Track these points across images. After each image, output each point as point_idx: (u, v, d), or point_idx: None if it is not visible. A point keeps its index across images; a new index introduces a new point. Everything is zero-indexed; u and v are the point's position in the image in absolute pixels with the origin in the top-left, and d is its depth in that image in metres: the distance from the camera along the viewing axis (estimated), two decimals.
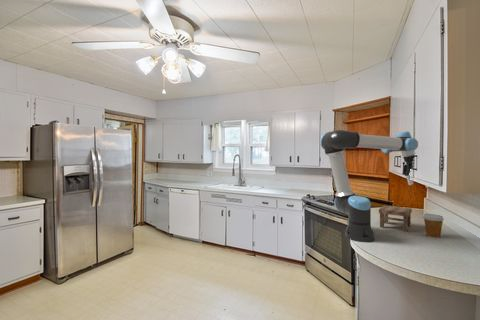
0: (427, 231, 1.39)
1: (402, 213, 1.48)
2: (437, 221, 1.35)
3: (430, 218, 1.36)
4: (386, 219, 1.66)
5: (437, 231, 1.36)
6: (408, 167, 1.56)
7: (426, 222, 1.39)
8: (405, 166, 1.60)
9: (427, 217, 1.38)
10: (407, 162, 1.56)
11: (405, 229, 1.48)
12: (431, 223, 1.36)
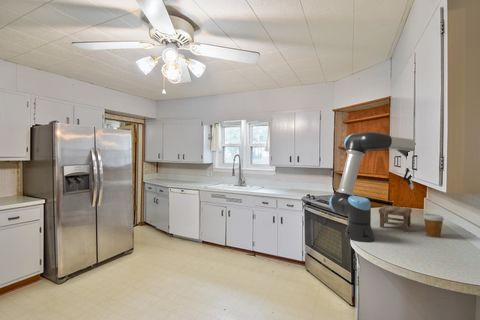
0: (427, 231, 1.39)
1: (402, 213, 1.48)
2: (437, 221, 1.35)
3: (430, 218, 1.36)
4: (386, 219, 1.66)
5: (437, 231, 1.36)
6: None
7: (426, 222, 1.39)
8: None
9: (427, 217, 1.38)
10: None
11: (405, 229, 1.48)
12: (431, 223, 1.36)
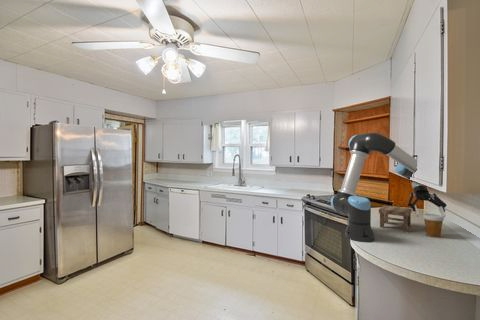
0: (427, 231, 1.39)
1: (402, 213, 1.48)
2: (437, 221, 1.35)
3: (430, 218, 1.36)
4: (386, 219, 1.66)
5: (437, 231, 1.36)
6: (420, 196, 1.52)
7: (426, 222, 1.39)
8: (412, 197, 1.54)
9: (427, 217, 1.38)
10: (418, 193, 1.55)
11: (405, 229, 1.48)
12: (431, 223, 1.36)
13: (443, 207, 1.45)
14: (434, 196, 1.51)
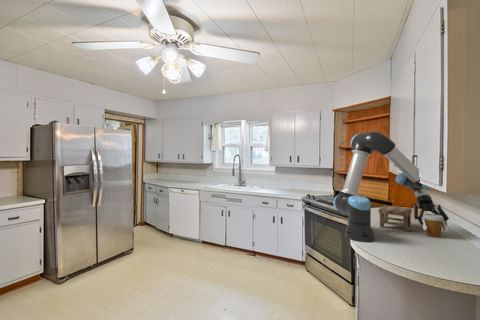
0: (427, 231, 1.39)
1: (402, 213, 1.48)
2: (437, 221, 1.35)
3: (430, 218, 1.36)
4: (386, 219, 1.66)
5: (437, 231, 1.36)
6: (425, 207, 1.45)
7: (426, 222, 1.39)
8: None
9: (427, 217, 1.38)
10: (421, 203, 1.48)
11: (405, 229, 1.48)
12: (431, 223, 1.36)
13: (445, 220, 1.38)
14: (438, 207, 1.44)
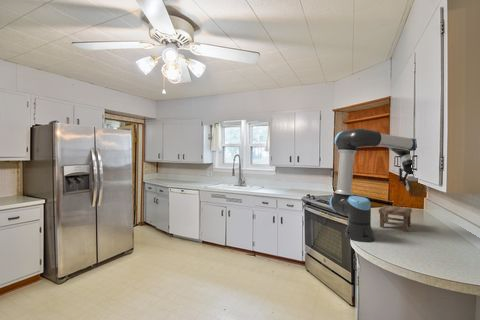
0: (410, 191, 1.48)
1: (402, 213, 1.48)
2: None
3: (412, 179, 1.45)
4: (386, 219, 1.66)
5: (419, 191, 1.44)
6: (409, 170, 1.53)
7: (409, 183, 1.48)
8: (401, 172, 1.55)
9: (410, 178, 1.46)
10: (406, 167, 1.56)
11: (405, 229, 1.48)
12: (413, 183, 1.45)
13: None
14: None
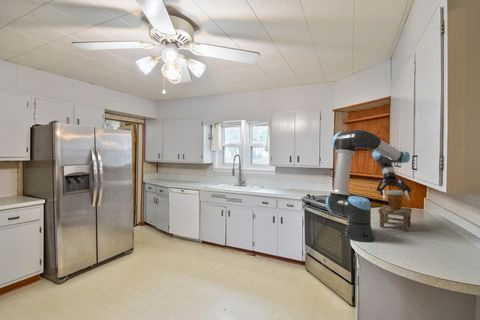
0: (390, 204, 1.58)
1: (402, 213, 1.48)
2: (397, 195, 1.53)
3: (391, 193, 1.55)
4: (386, 219, 1.66)
5: (398, 204, 1.54)
6: (388, 182, 1.64)
7: (388, 197, 1.58)
8: (381, 183, 1.66)
9: (389, 192, 1.56)
10: (387, 179, 1.66)
11: (405, 229, 1.48)
12: (392, 197, 1.55)
13: (408, 191, 1.57)
14: (401, 182, 1.62)
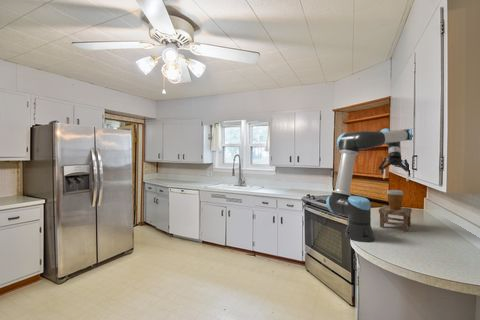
0: (390, 204, 1.58)
1: (402, 213, 1.48)
2: (397, 195, 1.53)
3: (392, 193, 1.55)
4: (386, 219, 1.66)
5: (398, 204, 1.54)
6: (392, 161, 1.66)
7: (388, 197, 1.58)
8: None
9: (389, 192, 1.56)
10: (391, 158, 1.69)
11: (405, 229, 1.48)
12: (393, 197, 1.55)
13: (409, 172, 1.60)
14: (405, 162, 1.65)
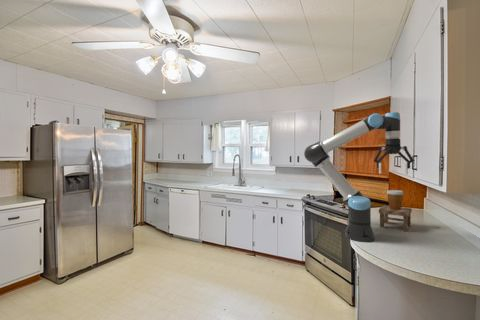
0: (390, 204, 1.58)
1: (402, 213, 1.48)
2: (397, 195, 1.53)
3: (392, 193, 1.55)
4: (386, 219, 1.66)
5: (398, 204, 1.54)
6: (388, 152, 1.42)
7: (389, 197, 1.58)
8: (380, 152, 1.46)
9: (389, 192, 1.56)
10: (387, 146, 1.42)
11: (405, 229, 1.48)
12: (393, 197, 1.55)
13: (409, 163, 1.36)
14: (404, 150, 1.37)
